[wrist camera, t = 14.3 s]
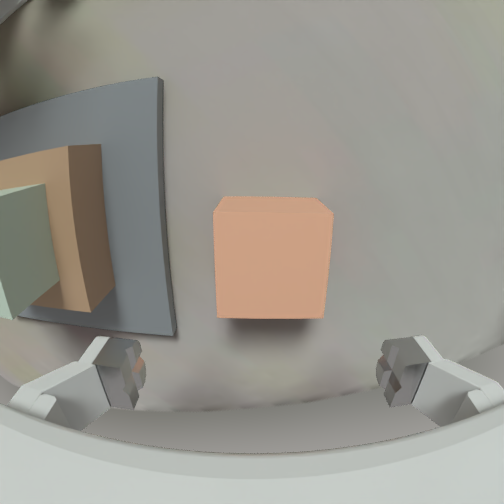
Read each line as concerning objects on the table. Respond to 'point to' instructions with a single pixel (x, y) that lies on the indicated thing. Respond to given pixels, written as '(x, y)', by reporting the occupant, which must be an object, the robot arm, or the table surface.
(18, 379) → the table surface
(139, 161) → the baseplate
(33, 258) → the sage brick
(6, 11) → the phone holder
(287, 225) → the terracotta brick
